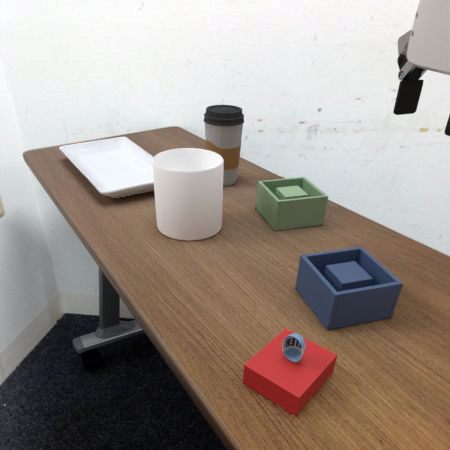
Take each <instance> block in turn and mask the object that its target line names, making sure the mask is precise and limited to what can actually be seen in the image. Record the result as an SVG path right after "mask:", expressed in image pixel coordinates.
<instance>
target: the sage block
mask: <svg viewBox="0 0 450 450" xmlns="http://www.w3.org/2000/svg"><path fill="white" fill-rule="evenodd" d="M275 196H276V197H277V198H278V199H279V200H285V199H294V198H304V197H308V194H307V193H306V192H305V191H304V190H302V189H301V188H300V187H299V186H288V187H278V188H276V193H275Z"/></svg>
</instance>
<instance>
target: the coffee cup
mask: <svg viewBox="0 0 450 450" xmlns="http://www.w3.org/2000/svg"><path fill="white" fill-rule="evenodd" d="M203 122H204V134H205V140H204V143H205V150H209V151H212V152H215V153H217V154H219V155H220V156H221V157H222V158H223V160H224V170H223V187H229V186H233V185H234V184H236V181H237V180H238V174H239V173H238V171H239V166H240V160H241V159H240V157H241V151H242V137H243V127H244V123H245V114H244V113H243V108H242V107H240V106H237V105H232V104H213V105H209V106H206V107H205V112H204V113H203Z"/></svg>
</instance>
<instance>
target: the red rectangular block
mask: <svg viewBox="0 0 450 450" xmlns="http://www.w3.org/2000/svg"><path fill="white" fill-rule="evenodd" d="M337 359H338V354H337V353H334V352H333V351H331V350H329V349H327V348H324V347H323V346H321V345H319V344H317V343H315V342H313V341H311V340H310V339H307V338H305V337H304V336H302V335H301V334H299V333H296V332H293V331H292V330H290V329H288V328H284V329H283V330H282V331H281V332H280V333H278V335H276V336H275V337H274V338H273V339H272V340H270V342H268V343H267V344H266V345H265V346H263V348H262V349H261V350H259V351H258V352H257V353H256V354H255V355H254V356H252V358H250V359H249V360H248V361H246V363H244V365H243V377H242V383H243V384H244V385H245V386H247V387H248V388H250V389H252V390H253V391H255V392H256V393H258V394H259V395H261V396H263V397H264V398H266V399H268V401H271V402H272V403H274V404H275V405H277V406H279V407H280V408H282V409H284V410H285V411H286V412H287V413H290V414H291V415H292V416H294V417H296V416H297V415H298V414H299V413H300V411H302V409H303V408H304V407H305V406H306V405H307V403H308V402H309V401H310V400H311V399H312V398H313V397H314V395H315V394H316V393H317V392H318V391H319V390H320V388H321V387H323V385H324V384H325V382H327V380H328V379H329V378H330V377H331V376H332V374H334V369H335V366H336V362H337Z"/></svg>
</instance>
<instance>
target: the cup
mask: <svg viewBox="0 0 450 450" xmlns="http://www.w3.org/2000/svg"><path fill="white" fill-rule="evenodd" d="M152 166H153V179H154V191H153V193H154V203H155V217H156V218H155V220H156V227H157V230H158V231H159V232H160V233H161V234H162V235H164V236H166V237H168V238H170V239H174V240H177V241H189V242H191V241H201V240H205V239H209V238H212V237H213V236H215V235H217V234H218V233H219V232H220V231H221V230H222V227H223V207H224V206H223V205H224V204H223V203H224V202H223V201H224V186H223V170H224V160H223V158H222V157H221V156H220V155H219V154H217V153H215V152H212V151H209V150H206V149H203V148H195V147H180V148H179V147H177V148H172V149H171V148H170V149H166V150H163V151H160V152H158V153H156V154H155V155H154V156H153V159H152Z"/></svg>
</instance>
